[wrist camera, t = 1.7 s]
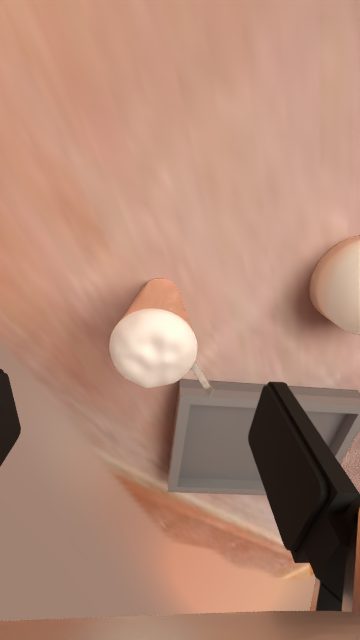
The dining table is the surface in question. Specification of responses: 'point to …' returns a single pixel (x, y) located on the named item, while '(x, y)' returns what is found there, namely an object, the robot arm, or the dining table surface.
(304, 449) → the robot arm
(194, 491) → the grey tray
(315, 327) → the dining table surface
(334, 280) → the cream domed disc
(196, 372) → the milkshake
